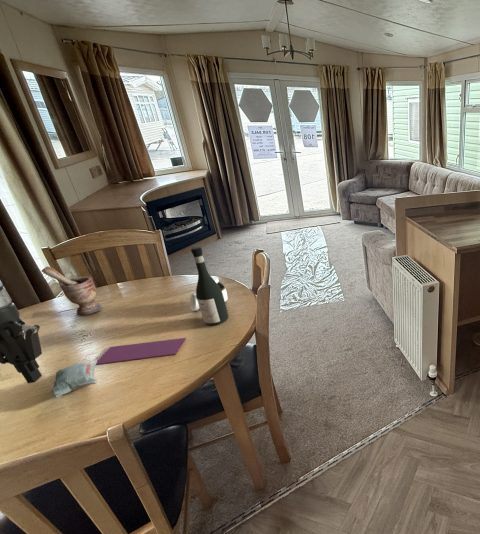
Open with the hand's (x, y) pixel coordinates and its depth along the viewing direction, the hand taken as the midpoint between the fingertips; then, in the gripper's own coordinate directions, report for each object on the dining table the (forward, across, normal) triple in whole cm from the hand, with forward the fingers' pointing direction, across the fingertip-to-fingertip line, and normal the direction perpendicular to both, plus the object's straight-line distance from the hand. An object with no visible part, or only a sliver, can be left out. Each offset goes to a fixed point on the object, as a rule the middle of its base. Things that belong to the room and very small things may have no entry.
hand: (35, 379), depth 95 cm
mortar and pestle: (+3, +14, -45) cm, 47 cm away
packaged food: (+4, -9, 0) cm, 10 cm away
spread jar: (+4, -31, -39) cm, 50 cm away
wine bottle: (+4, -37, -27) cm, 46 cm away
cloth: (+4, -19, -13) cm, 23 cm away
